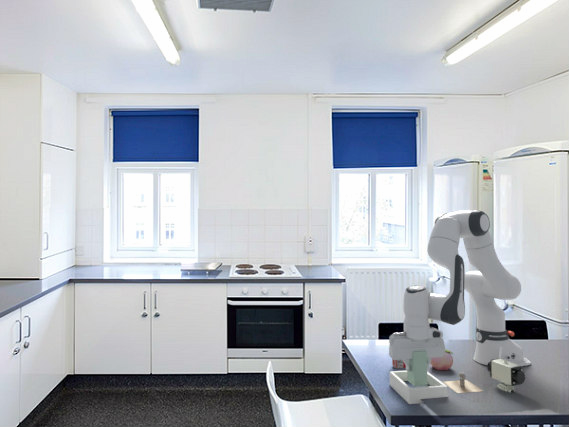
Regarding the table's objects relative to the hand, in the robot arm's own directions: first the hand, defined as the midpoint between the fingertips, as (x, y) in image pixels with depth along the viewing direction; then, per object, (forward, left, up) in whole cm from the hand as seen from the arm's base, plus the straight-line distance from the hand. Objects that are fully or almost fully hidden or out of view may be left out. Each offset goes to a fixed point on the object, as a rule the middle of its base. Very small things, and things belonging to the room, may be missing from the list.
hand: (417, 370), depth 143 cm
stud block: (-17, +1, -8) cm, 19 cm away
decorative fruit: (-19, -17, -8) cm, 27 cm away
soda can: (-5, -24, -8) cm, 26 cm away
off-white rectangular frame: (0, 0, -8) cm, 8 cm away
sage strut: (0, 0, -5) cm, 5 cm away
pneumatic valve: (-31, +6, -8) cm, 33 cm away
